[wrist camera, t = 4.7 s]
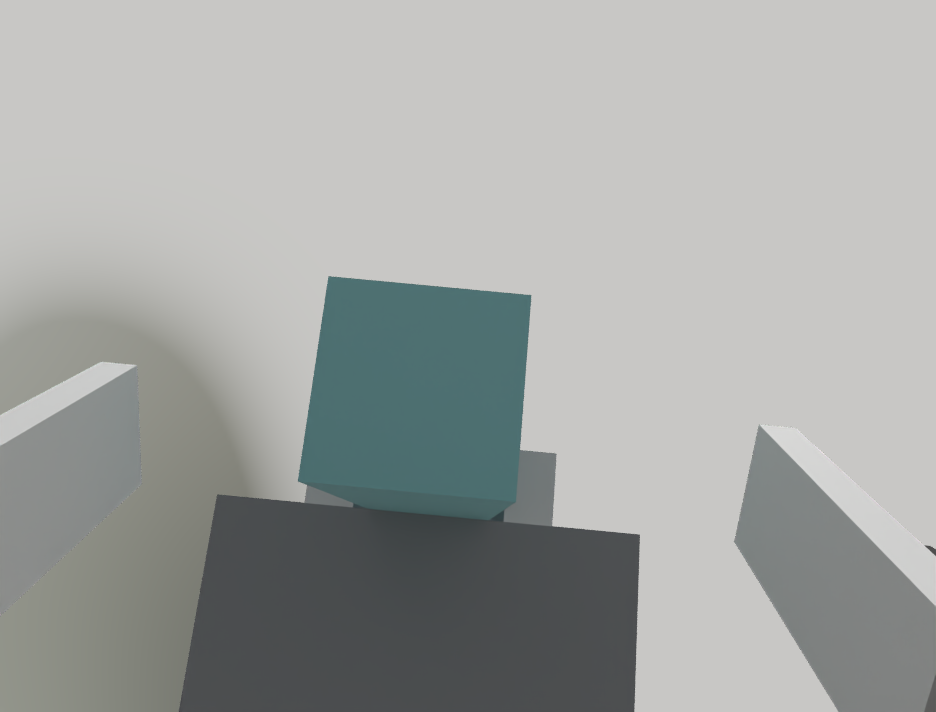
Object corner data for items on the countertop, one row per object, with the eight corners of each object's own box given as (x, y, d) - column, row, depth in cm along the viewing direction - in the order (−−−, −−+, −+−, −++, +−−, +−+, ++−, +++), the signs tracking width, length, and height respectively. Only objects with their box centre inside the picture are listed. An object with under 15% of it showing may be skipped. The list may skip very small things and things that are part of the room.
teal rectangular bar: (515, 501, 13) (531, 295, 14) (298, 481, 13) (328, 276, 14) (475, 529, 38) (482, 453, 39) (400, 521, 38) (409, 446, 39)
